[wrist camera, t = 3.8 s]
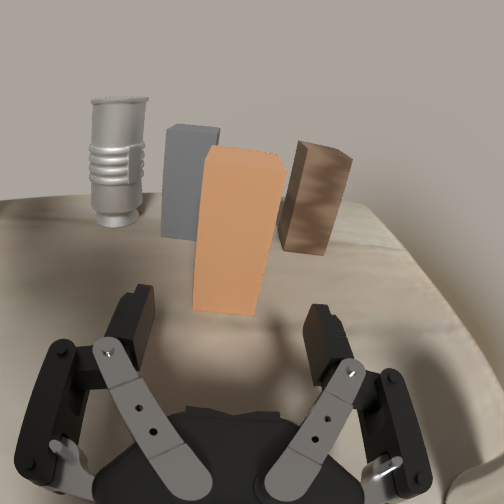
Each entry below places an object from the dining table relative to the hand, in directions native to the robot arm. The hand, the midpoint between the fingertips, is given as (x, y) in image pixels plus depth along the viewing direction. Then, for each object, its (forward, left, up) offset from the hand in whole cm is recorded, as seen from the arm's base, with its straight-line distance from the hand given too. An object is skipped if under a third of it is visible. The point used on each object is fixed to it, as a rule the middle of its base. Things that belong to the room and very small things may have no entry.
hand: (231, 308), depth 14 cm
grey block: (-10, +18, -7) cm, 21 cm away
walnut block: (+4, +22, -7) cm, 23 cm away
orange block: (-2, +9, -7) cm, 11 cm away
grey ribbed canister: (-19, +17, -7) cm, 26 cm away
